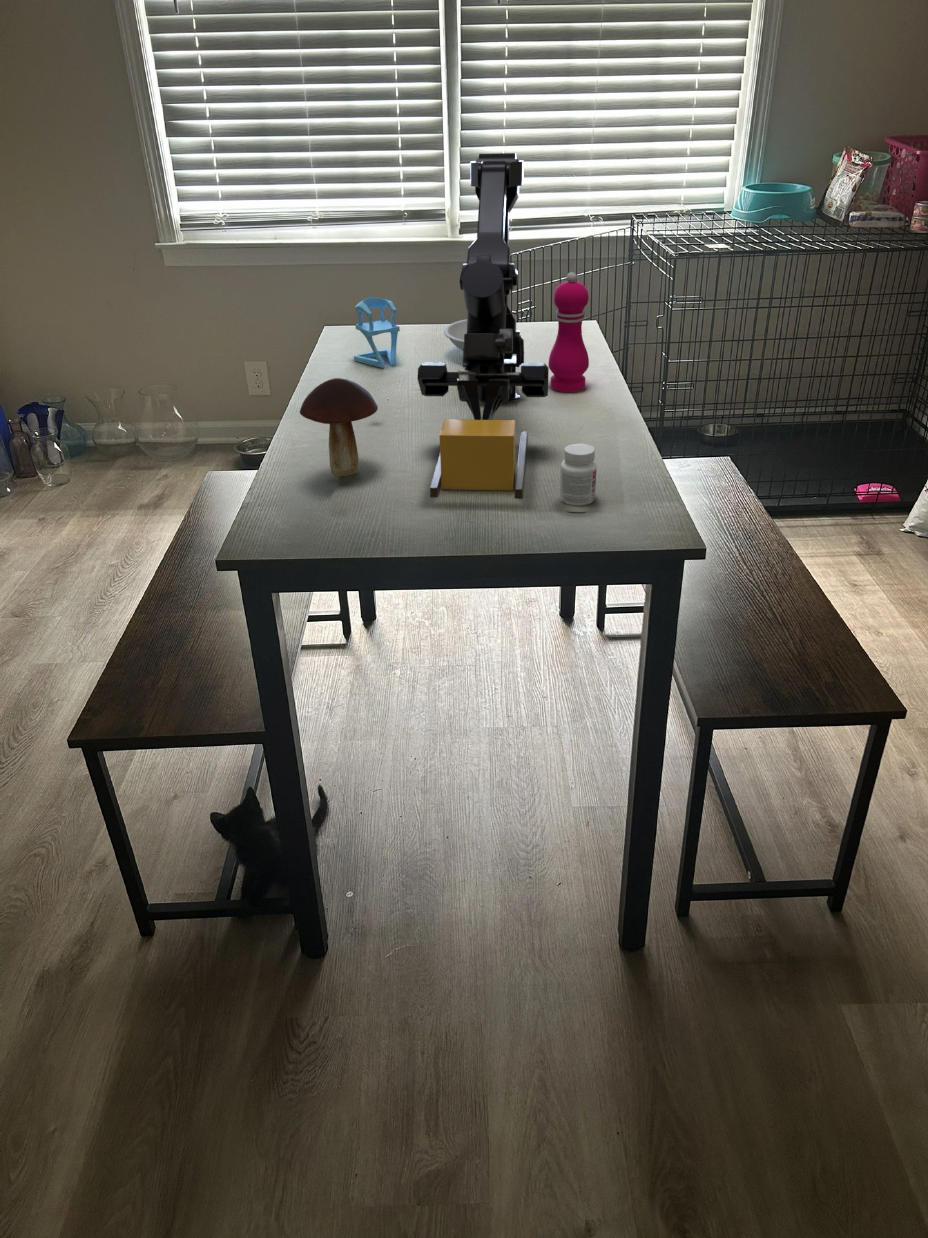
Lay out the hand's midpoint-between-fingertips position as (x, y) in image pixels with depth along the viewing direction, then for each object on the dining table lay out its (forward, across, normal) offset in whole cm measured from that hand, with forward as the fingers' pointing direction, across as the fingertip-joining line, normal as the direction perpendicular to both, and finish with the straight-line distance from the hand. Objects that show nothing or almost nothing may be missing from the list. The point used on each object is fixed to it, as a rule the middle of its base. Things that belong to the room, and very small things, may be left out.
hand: (481, 434), depth 136 cm
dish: (-37, -5, +47) cm, 60 cm away
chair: (-34, -24, +44) cm, 60 cm away
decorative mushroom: (+6, -20, +3) cm, 21 cm away
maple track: (+4, 0, +5) cm, 6 cm away
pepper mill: (-24, +13, +33) cm, 43 cm away
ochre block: (+7, 0, 0) cm, 7 cm away
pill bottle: (+12, +14, -3) cm, 18 cm away
